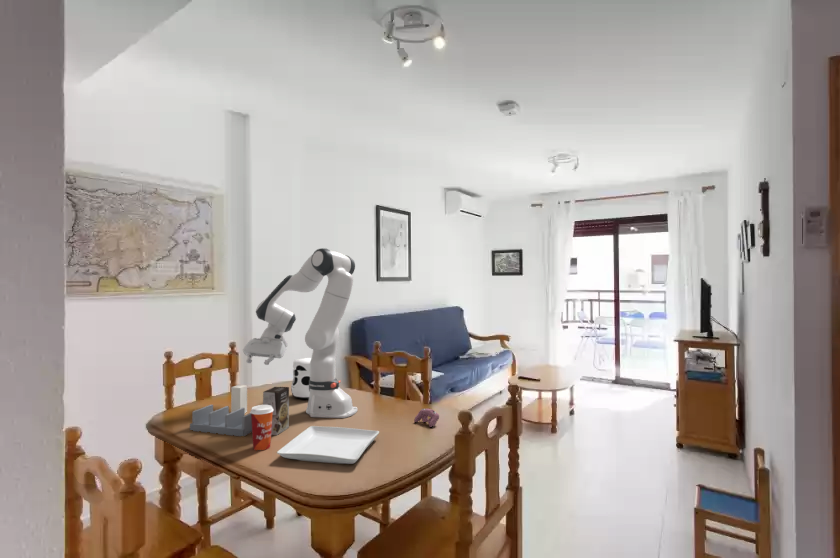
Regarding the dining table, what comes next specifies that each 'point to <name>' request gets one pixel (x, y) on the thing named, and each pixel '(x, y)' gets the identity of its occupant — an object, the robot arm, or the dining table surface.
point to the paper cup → (261, 426)
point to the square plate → (329, 444)
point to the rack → (221, 421)
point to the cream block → (238, 397)
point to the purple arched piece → (424, 415)
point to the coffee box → (278, 408)
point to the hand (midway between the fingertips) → (256, 363)
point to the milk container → (301, 378)
